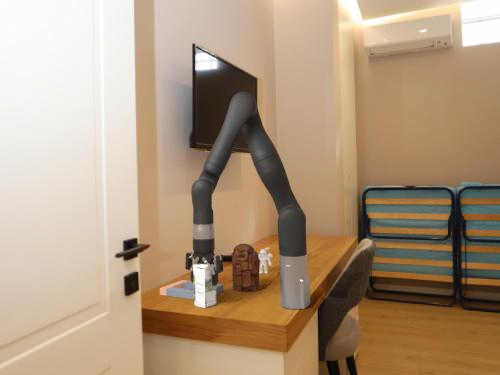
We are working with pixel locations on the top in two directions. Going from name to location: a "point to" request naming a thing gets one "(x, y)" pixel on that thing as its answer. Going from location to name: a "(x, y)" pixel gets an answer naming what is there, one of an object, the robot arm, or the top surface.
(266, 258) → the flower shoulder figurine
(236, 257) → the wooden figurine
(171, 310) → the top surface
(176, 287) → the keyhole board
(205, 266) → the syrup box
